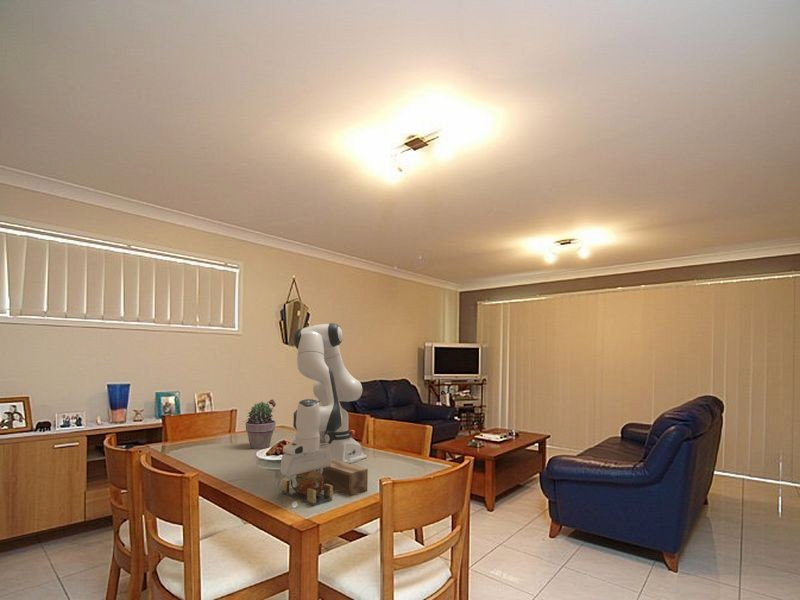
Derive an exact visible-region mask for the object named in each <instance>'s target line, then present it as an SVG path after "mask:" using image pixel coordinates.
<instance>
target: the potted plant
mask: <svg viewBox="0 0 800 600" xmlns="http://www.w3.org/2000/svg"><path fill="white" fill-rule="evenodd" d="M270 405H271V407H272V408H271V407H270ZM276 405H277V403H276V402H275V400H274V399H270V400H269V401H267V402H264V401H263V400H262V401H261V402H259V403H254V406H251V409H250V411H249V412H248V415H247V416H246V418H247V417H248V418H247V419H246V420H244V421H243V420H242V421H241V422H243V423H244V422H245V431H246V432H247V438H248V442H249V447H250V449H252V450H262V449H268V448H269V447H270V444H271V440H272V438H273V434H274V431H275V429H276V425H277V424H276V423H277V422H276V420H274V419H273V417H274V415H273V414H272V413H273V412H275V411H276V409H275V410H274V408H275V407H276ZM245 411H248V410H245Z"/></svg>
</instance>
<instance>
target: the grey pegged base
mask: <svg viewBox="0 0 800 600" xmlns="http://www.w3.org/2000/svg"><path fill="white" fill-rule="evenodd" d="M290 484H291V479H290V480H289V479H287V478H285V477H284V478H281V487H280V488H281V489H280V491H281V494H283V495H286V496H289V497H291V498H293V499H295V500H298V501H300V502H302V503H306V504H308V505H310V506H312V507H315V506H319V505H321V504H324V503H328V502H331V501H333V496H334V495H333V494H334V493H333V491H334V489H333V486H332V485H330V484H324V486H323V493H322V492H321V493H319V494H317V495H316V490H314V489H312V488H309V489H307V495H306V494H302V493H298V492H296V491H294V489H293V488H292V486H291V487H290Z"/></svg>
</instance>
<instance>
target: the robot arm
mask: <svg viewBox="0 0 800 600" xmlns="http://www.w3.org/2000/svg"><path fill="white" fill-rule="evenodd" d="M292 340H293V344H294V347H295V348H296V349H297V354H296V355H297V358H296V364H297V369H298V371H299V372H300V373H301V375H303V376H304V377H306V378H307V379H310V380H313V381H315V382H314V384H313V388H312V390H313V391H312V392H313V395H314V397H315V398H316V399H317V400H316V399H314V398H313V399H311V398H307V399H306V398H305V399H303V400H300V401H298V403H297V409H296V410H295V411H294V412H293V425H292V427H293V428H294V429H295V430H296V433H295V439H294V440H292V441H291V442H290V443H288V444H285V445H284V446H283V447H282V453H283V454H282V455H281V461H280V474H281V475H282V476H284V477H289V478H290V481H291V480H292V482H293V485H291V487H292V486H293V487H294V488H295V487H298V486H299V485H298V484H299V482H298V481H296V479H295V478H296V475H297V474H301V473H305V472H309V471H313V470H315V471H316V470H317V471H318V472H320V473H321V474H322V472H323V468H326V467H330V465H331V459H334V460H338V461H341V462H345V463H350V464H353V463H356V462H358V461H361V460H363V459H367V455H366V454H365V453H363V450H362V446H361V444H360V443H359V442H358V441H356V440H355V439H354V438H353V437H352V435H355V434H356V432H355V430H353V429H351V430H350V429H349V413H348V411H347V410H346V409H345V408H343V407H342V405H341V402H355V401H358V400H359V399H360V398H361V396H362V394H363V386H362V383H361V381H360V380H358V379H356V377H354V376H352V374H351V373H350V372H349V371H348V369H347V368H346V366H345V364H344V360H343V357H342V354H341V349H340V345H341V343H342V342H343V330H342V328H341V326H340V325H339V324H338V323H334V322H331V323H324V324H323V323H322V324H321V323H320V324H316V325H311V326H306V327H301V328H298V329H296V330H295V332H294V333H293V339H292ZM318 401H320V402H318ZM320 404H321V405H320ZM319 431H324V441H325V442H321V443H320V434H319Z"/></svg>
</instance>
